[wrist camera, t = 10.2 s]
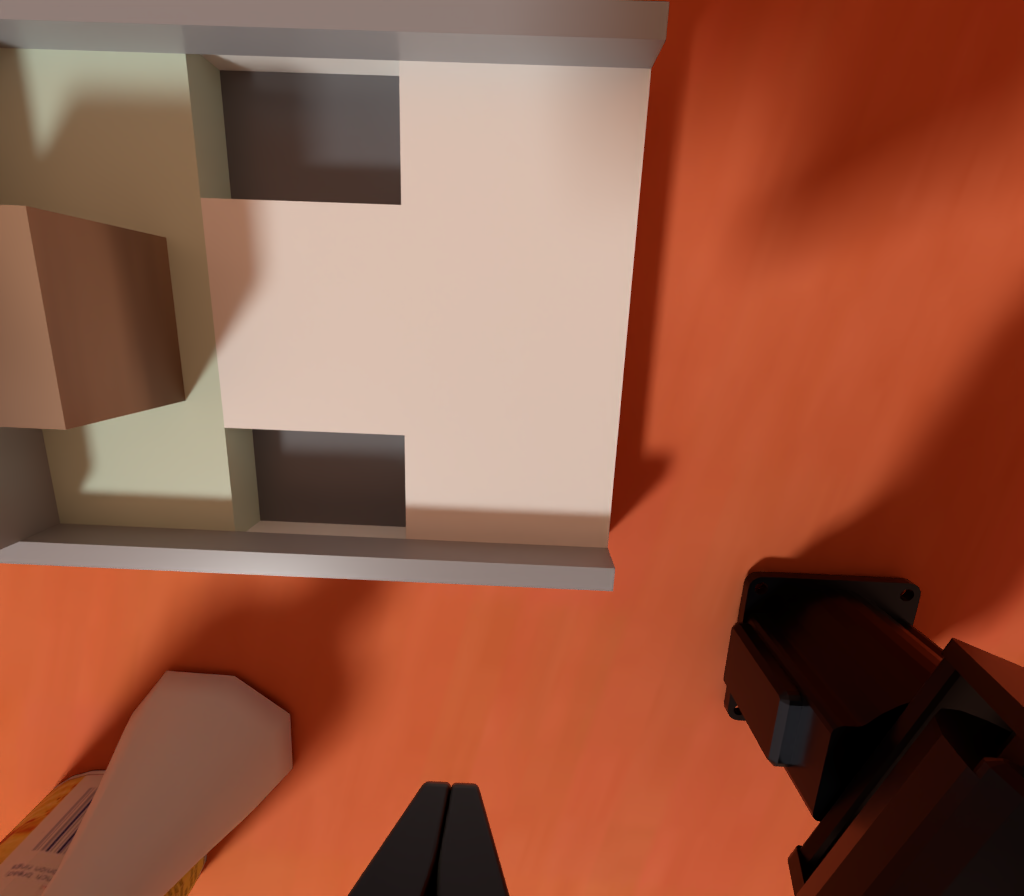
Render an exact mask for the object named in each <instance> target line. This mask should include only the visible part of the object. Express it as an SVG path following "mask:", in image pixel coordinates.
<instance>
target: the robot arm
mask: <svg viewBox="0 0 1024 896" xmlns="http://www.w3.org/2000/svg"><path fill="white" fill-rule="evenodd" d="M762 582H763V583H764V584H763V586H762V587H761V588H760V589H755V586H756V585H757V584H758V583H762ZM904 590H906V592H905V593H904V594H903V595H900V594H901V593H902V592H903V591H904ZM920 594H921V591H920V589H919V587H918V586H916V585H915V584H914V583H912V582H911V581H909V580H908V579H904V578H888V577H866V576H843V575H821V574H799V573H777V572H753V573H751V574H749V575H748V576H747V577H746V579H745V581H744V585H743V591H742V597H741V603H740V609H739V615H738V621H737V623H735V625H734V626H733V627H732V630H731V636H730V642H729V648H728V654H727V660H726V666H725V673H724V682H725V684H726V685H727V687H726V693H725V700H724V707H725V708H726V710H727V712H728V714H729V716H730V717H731V718H733V719H735V720H743V721H746V722H747V724H748V725H749V727H750V729H751V731H752V733H753V734H754V736H755V738H756V740H757V742H758V744H759V745H760V747H761V749H762V751H763V753H764V754H765V756H766V758H767V759H768V760H769V761H770V762H771V763H772V765H773V766H781V767H784V768H785V770H786V771H787V773H788V775H789V777H790V778H791V780H792V782H793V783H794V785H795V787H796V789H797V790H798V792H799V794H800V796H801V797H802V799H803V801H804V802H805V804H806V806H807V808H808V809H809V811H810V813H811V815H812V816H813V818H814V819H815V820H817V821H820V823H819V824H818V826H817V827H816V828H815V830H814V831H813V832H812V834H811V835H810V836H809V838H808V839H807V840H806V842H805V843H804V844H803V846H800V845H798V846H797V847H796V848H795V849H794V851H793V852H792V853H791V855H790V856H789V857H788V864H789V869H790V875H791V880H792V885H793V890H794V895H795V896H1024V667H1021V666H1019V665H1017V664H1014V663H1012V662H1010V661H1007V660H1005V659H1002V658H1000V657H998V656H995V655H993V654H991V653H988V652H986V651H983V650H981V649H979V648H976V647H974V646H972V645H969V644H967V643H964V642H962V641H960V640H957V639H955V638H952V639H951V640H950V642H949V643H948V644H947V646H946V647H945V648H944V650H943V649H941V648H940V647H939V646H937V645H936V644H935V643H934V642H932V641H931V640H930V639H929V638H927V637H926V636H925V635H924V634H922V633H921V632H920V631H919V630H917V629H916V628H915V627H913V622H914V618H915V615H916V611H917V607H918V603H919V599H920ZM737 705H738V707H739V708H735V707H736V706H737ZM348 896H509V893H508V889H507V886H506V882H505V878H504V875H503V871H502V868H501V864H500V861H499V857H498V854H497V850H496V846H495V843H494V839H493V836H492V832H491V829H490V825H489V822H488V818H487V814H486V811H485V807H484V804H483V800H482V797H481V793H480V790H479V787H478V786H477V785H476V784H473V783H454V784H453V785H452V787H451V785H450V784H449V783H447V782H433V781H428V782H426V783H424V784H423V785H422V787H421V788H420V789H419V791H418V792H417V794H416V795H415V797H414V798H413V800H412V801H411V803H410V804H409V806H408V807H407V809H406V810H405V812H404V813H403V815H402V816H401V818H400V819H399V820H398V822H397V823H396V825H395V826H394V828H393V829H392V831H391V832H390V834H389V835H388V837H387V838H386V840H385V841H384V843H383V844H382V846H381V847H380V849H379V850H378V852H377V853H376V854H375V856H374V857H373V859H372V860H371V862H370V863H369V865H368V866H367V868H366V869H365V871H364V872H363V874H362V875H361V877H360V878H359V880H358V881H357V883H356V884H355V886H354V887H353V888H352V890H351V891H350V893H349V894H348Z"/></svg>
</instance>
